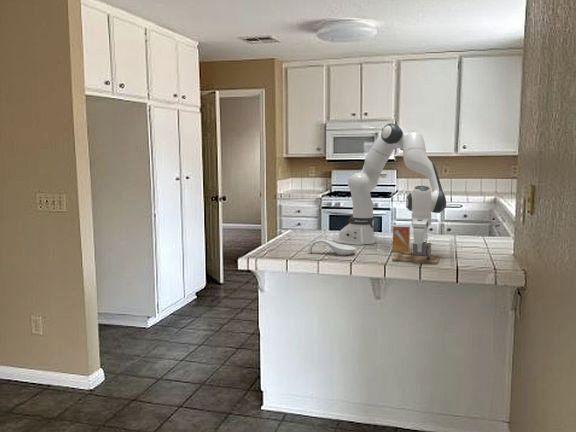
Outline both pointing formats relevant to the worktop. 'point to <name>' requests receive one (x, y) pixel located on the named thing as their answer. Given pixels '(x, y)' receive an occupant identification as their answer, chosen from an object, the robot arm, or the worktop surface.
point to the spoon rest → (335, 247)
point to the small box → (401, 238)
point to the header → (417, 257)
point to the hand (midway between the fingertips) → (420, 250)
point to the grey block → (424, 250)
